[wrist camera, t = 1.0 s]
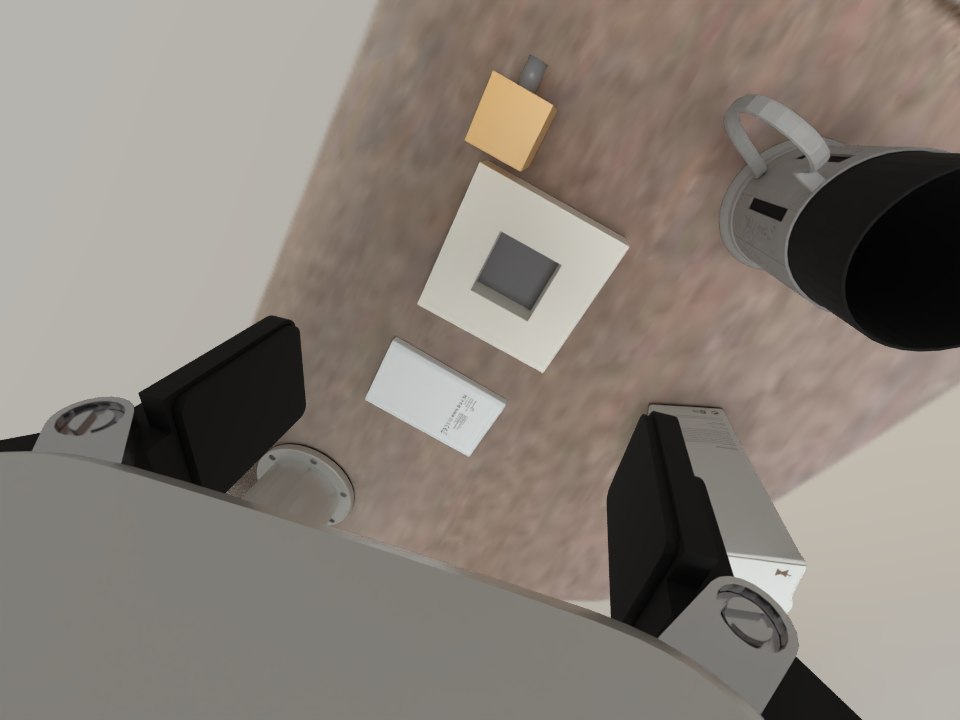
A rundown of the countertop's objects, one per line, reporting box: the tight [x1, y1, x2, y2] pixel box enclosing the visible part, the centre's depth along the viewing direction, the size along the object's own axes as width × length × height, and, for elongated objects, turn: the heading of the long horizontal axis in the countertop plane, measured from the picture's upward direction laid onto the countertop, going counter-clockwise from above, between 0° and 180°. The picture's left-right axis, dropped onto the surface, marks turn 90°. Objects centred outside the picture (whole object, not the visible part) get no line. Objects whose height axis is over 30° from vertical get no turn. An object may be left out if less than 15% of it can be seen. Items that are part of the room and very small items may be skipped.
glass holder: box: [719, 95, 960, 351], centre depth 22 cm, size 9×14×15 cm, turn 55°
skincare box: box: [648, 405, 807, 614], centre depth 33 cm, size 8×7×16 cm
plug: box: [465, 55, 557, 172], centre depth 27 cm, size 6×4×6 cm
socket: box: [417, 160, 630, 373], centre depth 34 cm, size 12×12×3 cm
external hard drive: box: [365, 337, 507, 457], centre depth 43 cm, size 2×8×12 cm
